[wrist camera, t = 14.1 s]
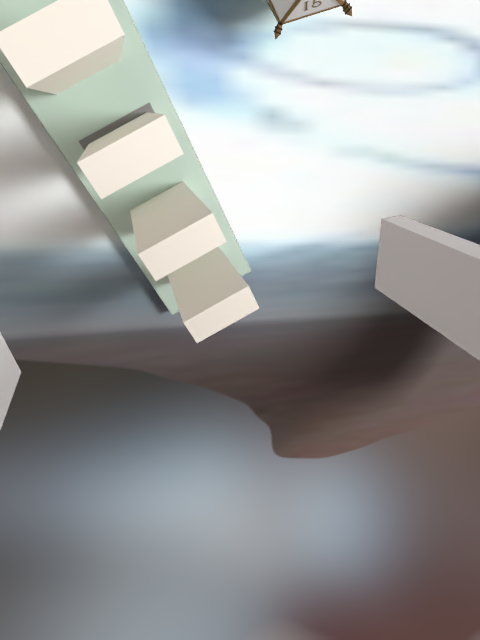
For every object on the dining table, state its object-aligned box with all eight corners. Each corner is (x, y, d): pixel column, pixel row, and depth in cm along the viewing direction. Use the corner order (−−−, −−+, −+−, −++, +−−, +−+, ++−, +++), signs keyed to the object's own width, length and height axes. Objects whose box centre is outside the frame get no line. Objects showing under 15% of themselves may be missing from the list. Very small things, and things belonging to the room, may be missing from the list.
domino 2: (161, 138, 29) (183, 153, 20) (104, 169, 29) (101, 199, 19) (147, 112, 28) (164, 114, 18) (88, 144, 27) (76, 162, 18)
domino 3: (193, 203, 32) (226, 241, 23) (143, 231, 32) (155, 281, 23) (182, 181, 31) (212, 212, 22) (130, 210, 31) (137, 254, 21)
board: (248, 267, 37) (251, 270, 37) (170, 310, 37) (172, 315, 36) (42, -166, 21) (39, -178, 20) (-100, -91, 20) (-110, -99, 20)
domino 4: (220, 255, 35) (259, 308, 26) (174, 281, 35) (197, 343, 26) (211, 237, 34) (248, 285, 25) (163, 264, 34) (183, 322, 25)
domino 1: (120, 60, 26) (124, 34, 16) (57, 94, 26) (26, 87, 16) (102, 26, 24) (97, -22, 15) (36, 62, 24) (-8, 35, 15)
